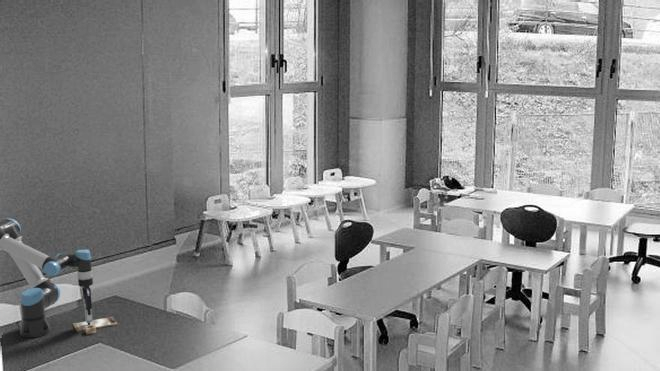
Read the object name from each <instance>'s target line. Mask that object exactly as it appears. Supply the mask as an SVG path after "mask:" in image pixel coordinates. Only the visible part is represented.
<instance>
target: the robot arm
mask: <svg viewBox="0 0 660 371" xmlns="http://www.w3.org/2000/svg"><path fill="white" fill-rule="evenodd" d="M21 230H22V228H21V225H20V224H19V222H18V221H17V220H15V219H13V218H3V219H1V220H0V251H4V252H7V253H9V255H10V256H11V258H12V260H13V262H14V263H15V264H16V266H17V267H18V269H19V271H20V272H21V274H22V275H23V277H24V278H25V281H27V284H28V285H29V288H28V289H26V290H24V291H23V292H22V293H20V306H21V317H22V323H21V327H20V329H19V330H20V331H19V334H20V336H21V337H23V338H28V339H30V338H32V339H33V338H38V337H43V336H45V335H48V334H49V333H50V332H51V327H50V324H49V321H48V320H47V317H46V310H45V309H47V308H49V307H51V306H53V305H55V303H56V302H58V301H59V299H60V297H61V290H60V287H59V285H57V284H56V283H54V282H52V281H51V280H50V279H49V278H47V277H45V276H44V274H45V275H46V276H48V277H53V276H55V275H58V274H60V273H62V272H64V271H65V270H66V269H67V270H68V268H71V269H72V268H75V269H76V271H77V282H78V286H79V287H81V291H82V297H83V298H82V299H83V300H84V299H85V300H86V309H85V308H84V311H85V310H86V315H87V321H89V320H93V310H92V311H91V309H93V305H92V303H91V301H92V292H91V291H92V288H90V287H91V286H92V285H93V284H94V282H93V280H94V279H93V273H94V271H93V270H92V256H91V251H90V250H89V249H77V250H76V251H75V253H65V252H62V253H57V254H56V255H55V257H52V256H49V255H47V254H46V253H43V252H41V251H40V250H37V249H35V248H33V247H31V246H29V245H27V244H25V243H23V241H22V238H23V236H22V234H21V232H22V231H21ZM40 269H42V270H43V273H44V274H43V273H42V271H41V270H40Z"/></svg>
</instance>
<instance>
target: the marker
mask: <svg viewBox="0 0 660 371" xmlns="http://www.w3.org/2000/svg"><path fill="white" fill-rule="evenodd" d="M91 304H92V300H91ZM83 305H84V316H85V317H84V318H85V319H84V320H85V321H86V323H88V325H90V322H92V320H93V319H92V320H89V321H87V315H86V310H85V309H86V300H85V299H83ZM92 309H93V308H92ZM92 309H91V311H92V312H93V310H92Z"/></svg>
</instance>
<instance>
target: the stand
mask: <svg viewBox="0 0 660 371" xmlns="http://www.w3.org/2000/svg"><path fill="white" fill-rule="evenodd" d="M84 332H85V334H86V335H92V334H93V335H94V334H97V329H96V327H95V325H90V326H85V331H84Z"/></svg>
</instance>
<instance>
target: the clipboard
mask: <svg viewBox="0 0 660 371" xmlns="http://www.w3.org/2000/svg"><path fill="white" fill-rule="evenodd" d="M90 325H95V327H96V330H97V329H103V328H108V327H113V326H114V327H115V326H119V323H118V321H117V320H116V319H115V318H114V316H108V317H102V318H97V319H92V322H90ZM90 325H88V323H86V321H79V322H73V323H72V326H73V327H74V330H75V331H76V332H77V333H79V332H85V326H90Z"/></svg>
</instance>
